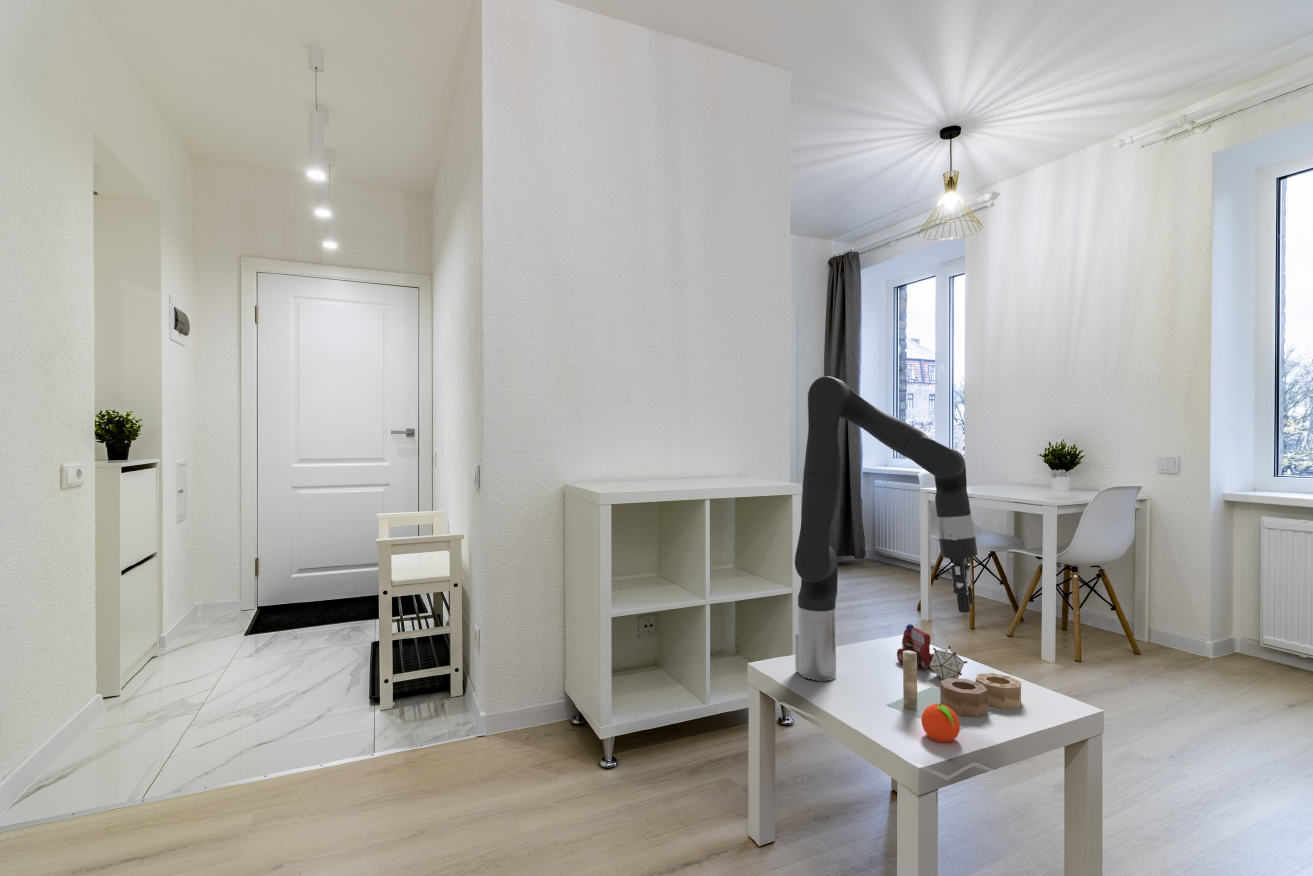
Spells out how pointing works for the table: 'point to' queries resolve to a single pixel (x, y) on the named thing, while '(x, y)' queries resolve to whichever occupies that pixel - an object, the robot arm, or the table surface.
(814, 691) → the table surface
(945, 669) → the game die
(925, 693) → the grey mat
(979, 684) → the walnut bead
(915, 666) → the birch peg
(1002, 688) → the oak bead
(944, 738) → the clementine
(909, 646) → the red toy car
